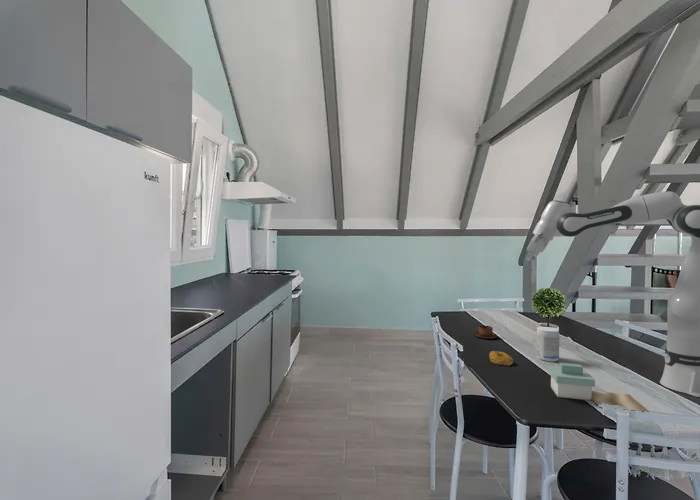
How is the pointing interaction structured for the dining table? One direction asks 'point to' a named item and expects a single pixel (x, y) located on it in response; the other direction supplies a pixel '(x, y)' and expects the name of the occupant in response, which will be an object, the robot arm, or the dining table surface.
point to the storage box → (571, 390)
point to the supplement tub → (548, 343)
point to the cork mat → (617, 400)
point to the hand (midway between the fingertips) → (530, 260)
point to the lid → (571, 375)
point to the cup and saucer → (485, 332)
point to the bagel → (500, 358)
